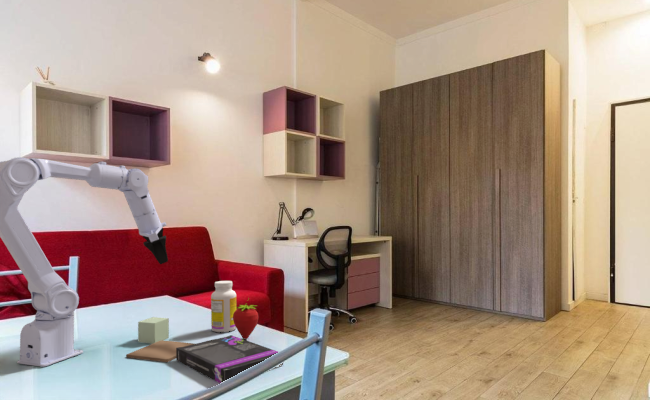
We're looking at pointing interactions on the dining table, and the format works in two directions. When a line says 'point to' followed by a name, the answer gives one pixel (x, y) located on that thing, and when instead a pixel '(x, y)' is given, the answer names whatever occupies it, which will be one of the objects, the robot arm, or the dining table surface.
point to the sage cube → (153, 330)
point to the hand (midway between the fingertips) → (162, 258)
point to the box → (222, 357)
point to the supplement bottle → (223, 307)
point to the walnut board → (158, 351)
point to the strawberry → (245, 319)
